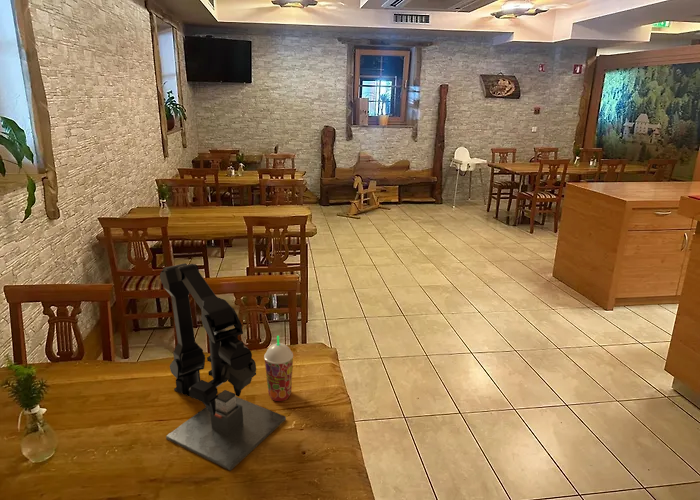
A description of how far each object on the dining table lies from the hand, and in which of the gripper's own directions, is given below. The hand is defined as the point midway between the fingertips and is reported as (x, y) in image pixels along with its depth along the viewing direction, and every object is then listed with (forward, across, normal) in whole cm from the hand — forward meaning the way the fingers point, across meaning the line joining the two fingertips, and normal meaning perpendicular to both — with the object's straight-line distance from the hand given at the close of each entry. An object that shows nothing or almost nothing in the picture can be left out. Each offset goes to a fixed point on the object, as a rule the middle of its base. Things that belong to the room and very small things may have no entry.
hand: (225, 404), depth 126 cm
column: (+6, 0, 0) cm, 6 cm away
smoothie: (+8, +19, -3) cm, 21 cm away
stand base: (+8, 0, 0) cm, 8 cm away
